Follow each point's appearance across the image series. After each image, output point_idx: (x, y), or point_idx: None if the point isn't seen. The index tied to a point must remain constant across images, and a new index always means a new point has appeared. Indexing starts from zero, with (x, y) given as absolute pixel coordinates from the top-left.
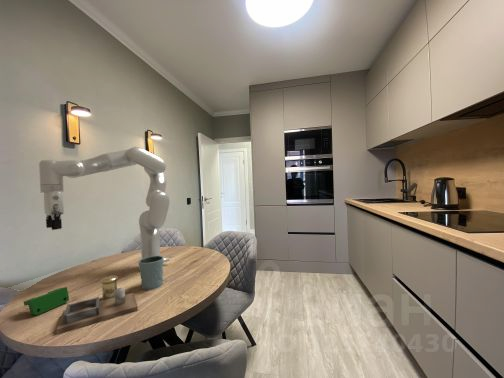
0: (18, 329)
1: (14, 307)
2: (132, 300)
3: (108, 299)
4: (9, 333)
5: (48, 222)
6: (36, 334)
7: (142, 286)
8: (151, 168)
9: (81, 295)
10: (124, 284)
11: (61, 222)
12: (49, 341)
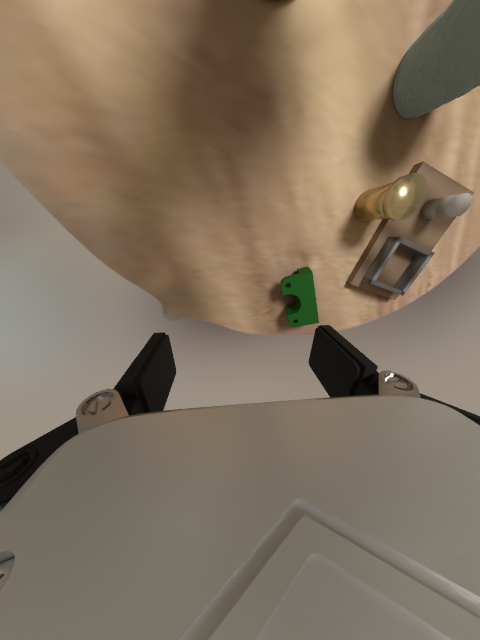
0: None
1: (244, 324)
2: (446, 185)
3: None
4: None
5: (163, 394)
6: (363, 313)
7: (412, 115)
8: None
9: (296, 241)
10: (332, 138)
11: (356, 348)
12: (395, 305)
